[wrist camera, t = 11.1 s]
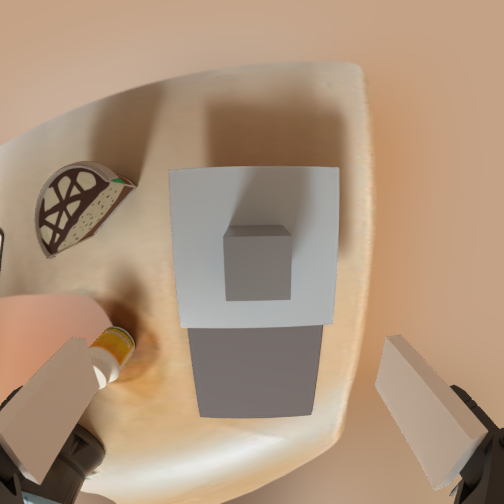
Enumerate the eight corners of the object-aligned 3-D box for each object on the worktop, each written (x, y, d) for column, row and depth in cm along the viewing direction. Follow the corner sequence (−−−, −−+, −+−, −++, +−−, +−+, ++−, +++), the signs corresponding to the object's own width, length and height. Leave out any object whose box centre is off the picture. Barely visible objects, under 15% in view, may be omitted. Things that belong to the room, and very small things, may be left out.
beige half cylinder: (117, 145, 32) (76, 134, 22) (145, 178, 33) (109, 176, 23) (63, 211, 34) (17, 221, 24) (87, 243, 35) (44, 261, 25)
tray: (200, 415, 41) (200, 417, 41) (187, 320, 37) (186, 321, 37) (310, 413, 41) (311, 414, 41) (322, 318, 38) (323, 319, 37)
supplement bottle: (135, 360, 39) (112, 399, 30) (104, 350, 39) (77, 385, 29) (136, 330, 38) (110, 367, 28) (103, 320, 37) (72, 353, 28)
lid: (182, 322, 30) (166, 358, 23) (172, 170, 27) (147, 166, 20) (329, 319, 30) (349, 353, 23) (335, 168, 27) (362, 163, 20)
